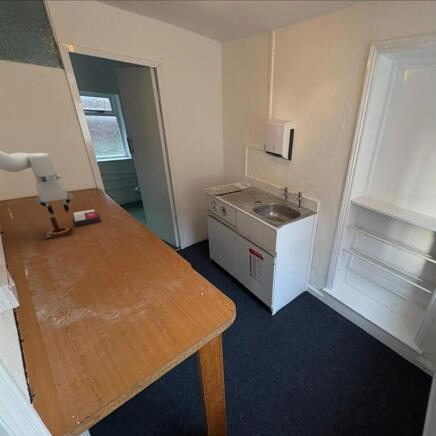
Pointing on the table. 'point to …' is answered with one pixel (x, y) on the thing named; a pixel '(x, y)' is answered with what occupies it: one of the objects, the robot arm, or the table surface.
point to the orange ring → (59, 232)
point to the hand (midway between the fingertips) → (59, 212)
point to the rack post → (56, 229)
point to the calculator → (85, 217)
